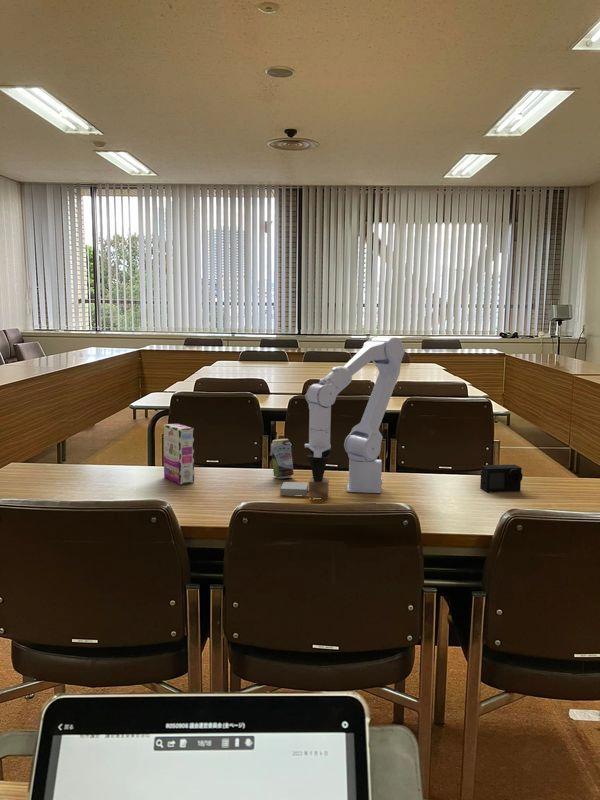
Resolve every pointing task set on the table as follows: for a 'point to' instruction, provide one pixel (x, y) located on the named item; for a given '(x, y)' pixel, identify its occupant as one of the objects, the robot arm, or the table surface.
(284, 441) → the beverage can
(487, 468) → the digital camera
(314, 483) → the walnut block
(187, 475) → the candy bar box
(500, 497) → the table surface
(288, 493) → the plinth
